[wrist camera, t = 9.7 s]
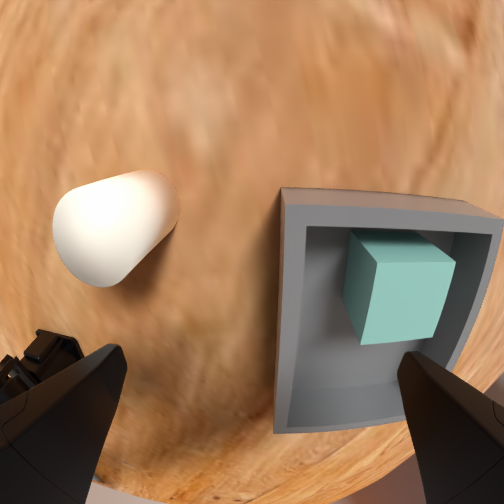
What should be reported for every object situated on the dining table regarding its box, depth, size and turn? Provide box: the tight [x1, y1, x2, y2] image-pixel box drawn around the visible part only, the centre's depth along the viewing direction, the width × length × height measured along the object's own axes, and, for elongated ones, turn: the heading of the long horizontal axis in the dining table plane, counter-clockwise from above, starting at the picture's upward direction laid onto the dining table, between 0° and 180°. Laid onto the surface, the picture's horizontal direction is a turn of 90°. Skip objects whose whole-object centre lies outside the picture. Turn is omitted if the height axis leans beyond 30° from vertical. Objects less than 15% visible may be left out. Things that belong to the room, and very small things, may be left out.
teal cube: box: [342, 231, 456, 345], centre depth 15 cm, size 5×5×5 cm
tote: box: [273, 187, 504, 434], centre depth 18 cm, size 18×14×5 cm
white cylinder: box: [53, 169, 180, 287], centre depth 15 cm, size 5×5×7 cm
